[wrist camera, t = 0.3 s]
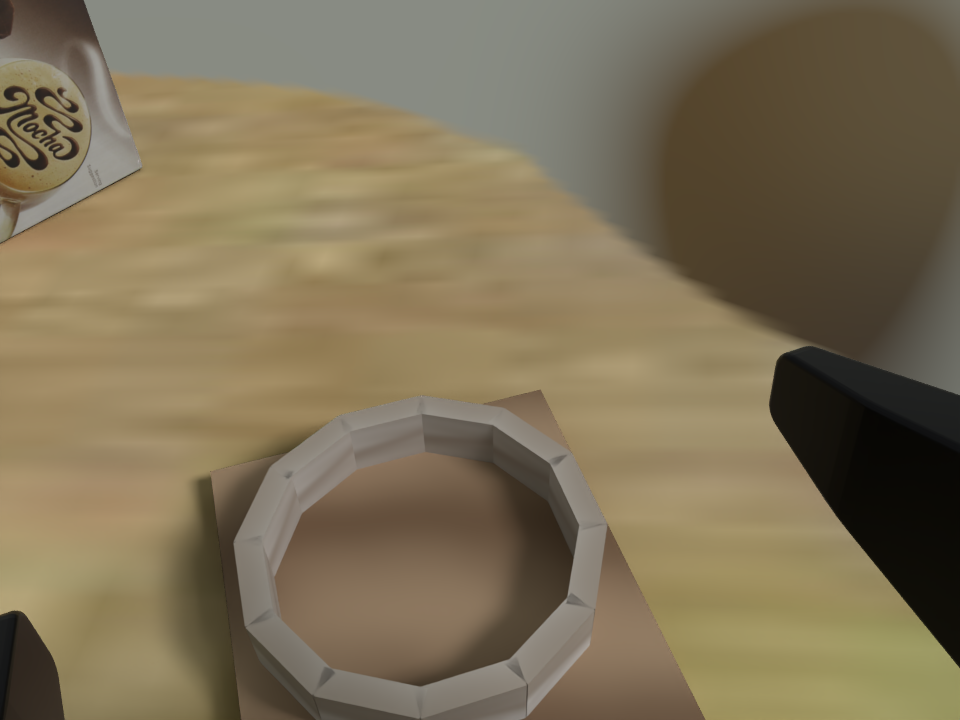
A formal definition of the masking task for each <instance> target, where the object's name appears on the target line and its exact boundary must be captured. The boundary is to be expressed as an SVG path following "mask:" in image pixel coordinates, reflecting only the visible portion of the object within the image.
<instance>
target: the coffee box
mask: <svg viewBox="0 0 960 720" xmlns="http://www.w3.org/2000/svg"><path fill="white" fill-rule="evenodd" d="M140 168H142V163H141V160H140V157H139V154H138V151H137V149H136V146H135V143H134V140H133V137H132V135H131V132H130V129H129V126H128V123H127V120H126V118H125V115H124V112H123V110H122V107H121V103H120V100H119V97H118V94H117V92H116V89H115V86H114V84H113V81H112V78H111V75H110V72H109V70H108V67H107V64H106V61H105V58H104V56H103V53H102V50H101V48H100V45H99V42H98V40H97V36H96V34H95V31H94V28H93V25H92V22H91V20H90V17H89V14H88V11H87V8H86V5H85V3H84V0H0V243H1V242H3V241H5V240H7V239H9V238H11V237H13V236H14V235H16V234H18V233H20V232H22V231H24V230H26V229H28V228H29V227H31V226H33V225H35V224H37V223H39V222H41V221H43V220H45V219H46V218H48V217H50V216H52V215H54V214H56V213H58V212H60V211H61V210H63V209H65V208H67V207H69V206H71V205H73V204H75V203H77V202H78V201H80V200H82V199H84V198H86V197H88V196H90V195H92V194H94V193H95V192H97V191H99V190H101V189H103V188H105V187H107V186H109V185H110V184H112V183H114V182H116V181H118V180H120V179H121V178H123V177H125V176H127V175H129V174H131V173H133V172H135V171H137V170H139V169H140Z"/></svg>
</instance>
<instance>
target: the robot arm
mask: <svg viewBox="0 0 960 720" xmlns="http://www.w3.org/2000/svg"><path fill="white" fill-rule="evenodd" d="M769 407H770V413H771V416H772V418H773V421H774V422H775V424H776V426H777V427H778V429H779V430H780V432H781V433H782V435H783V436H784V438H785V440H786V441H787V443H788V444H789V446H790V447H791V449H792V450H793V452H794V453H795V455H796V456H797V458H798V459H799V461H800V462H801V464H802V465H803V467H804V469H805V470H806V472H807V473H808V475H809V476H810V478H811V479H812V481H813V482H814V484H815V485H816V487H817V488H818V490H819V491H820V493H821V494H822V496H823V497H824V499H825V501H826V502H827V503H828V505H829V506H830V508H831V509H832V510H833V512H834V513H835V515H836V516H837V517H838V519H839V520H840V521H841V523H842V524H843V525H844V526H845V528H846V529H847V530H848V532H849V533H850V534H851V535H852V537H853V538H854V539H855V540H856V541H857V543H858V544H859V545H860V546H861V548H862V549H863V550H864V551H865V552H866V554H867V555H868V556H869V557H870V559H871V560H872V561H873V562H874V563H875V565H876V566H877V567H878V568H879V570H880V571H881V572H882V573H883V575H884V576H885V577H886V578H887V579H888V581H889V582H890V583H891V584H892V586H893V587H894V588H895V589H896V590H897V592H898V593H899V594H900V595H901V597H902V598H903V599H904V600H905V602H906V603H907V604H908V605H909V606H910V608H911V609H912V610H913V611H914V613H915V614H916V615H917V616H918V617H919V619H920V620H921V621H922V622H923V624H924V625H925V626H926V627H927V628H928V630H929V631H930V632H931V633H932V635H933V636H934V637H935V638H936V640H937V641H938V642H939V643H940V644H941V646H942V647H943V648H944V649H945V651H946V652H947V653H948V654H949V655H950V657H951V658H952V659H953V660H954V662H955V663H956V664H957V665H958V666H959V668H960V395H958V394H954V393H952V392H948V391H946V390H943V389H939V388H937V387H934V386H930V385H928V384H924V383H922V382H919V381H916V380H913V379H909V378H907V377H904V376H901V375H898V374H894V373H892V372H888V371H886V370H882V369H880V368H876V367H874V366H870V365H868V364H864V363H861V362H859V361H856V360H853V359H850V358H846V357H844V356H841V355H837V354H835V353H832V352H829V351H826V350H823V349H820V348H816V347H813V346H806V347H802V348H799V349H796V350H793V351H790V352H787V353H784V354H782V355H781V356H780V357H779V359H778V360H777V362H776V366H775V372H774V378H773V384H772V389H771V395H770V401H769ZM0 720H64V712H63V705H62V698H61V691H60V684H59V677H58V672H57V668H56V665H55V662H54V660H53V657H52V655H51V654H50V652H49V650H48V649H47V647H46V646H45V644H44V643H43V641H42V639H41V638H40V636H39V635H38V633H37V632H36V630H35V629H34V627H33V625H32V624H31V622H30V621H29V619H28V618H27V616H26V615H25V614H24V613H22V612H21V611H11V612H8V613H5V614H2V615H0Z"/></svg>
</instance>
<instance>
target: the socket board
mask: <svg viewBox="0 0 960 720" xmlns="http://www.w3.org/2000/svg"><path fill="white" fill-rule="evenodd" d="M210 472H211V480H212V488H213V496H214V504H215V512H216V520H217V528H218V536H219V545H220V553H221V561H222V569H223V577H224V585H225V593H226V601H227V609H228V617H229V625H230V634H231V642H232V650H233V658H234V666H235V674H236V682H237V690H238V698H239V706H240V714H241V720H705V718H704V716H703V714H702V712H701V710H700V708H699V706H698V704H697V702H696V700H695V698H694V696H693V694H692V692H691V690H690V688H689V686H688V684H687V682H686V680H685V678H684V676H683V674H682V672H681V670H680V668H679V666H678V664H677V662H676V660H675V658H674V656H673V654H672V652H671V650H670V648H669V646H668V644H667V642H666V640H665V638H664V636H663V634H662V632H661V630H660V628H659V626H658V624H657V622H656V620H655V618H654V616H653V614H652V612H651V610H650V608H649V606H648V604H647V602H646V600H645V598H644V596H643V594H642V592H641V590H640V588H639V586H638V584H637V582H636V580H635V578H634V576H633V574H632V572H631V570H630V568H629V566H628V564H627V562H626V560H625V558H624V556H623V554H622V552H621V550H620V548H619V546H618V544H617V542H616V540H615V538H614V536H613V534H612V532H611V530H610V528H609V526H608V524H607V522H606V520H605V518H604V516H603V514H602V512H601V510H600V508H599V506H598V504H597V502H596V500H595V498H594V496H593V494H592V492H591V490H590V488H589V486H588V484H587V482H586V480H585V478H584V476H583V474H582V472H581V470H580V468H579V466H578V464H577V462H576V460H575V458H574V456H573V454H572V452H571V450H570V448H569V446H568V444H567V442H566V440H565V438H564V436H563V434H562V432H561V430H560V428H559V426H558V424H557V422H556V420H555V418H554V416H553V414H552V412H551V410H550V408H549V406H548V404H547V402H546V400H545V398H544V396H543V394H542V392H541V390H537V391H533V392H529V393H525V394H521V395H517V396H513V397H509V398H505V399H501V400H497V401H493V402H489V403H485V404H475V403H469V402H462V401H456V400H449V399H442V398H436V397H429V396H423V395H422V397H421V396H417V397H413V398H409V399H404V400H400V401H396V402H392V403H388V404H384V405H380V406H376V407H371V408H367V409H363V410H359V411H355V412H351V413H347V414H343V415H339V416H337V417H336V418H335V419H333V420H332V421H331V422H329V423H328V424H326V425H325V426H324V427H322V428H321V429H320V430H318V431H317V432H316V433H314V434H313V435H312V436H310V437H309V438H308V439H306V440H305V441H304V442H302V443H301V444H300V445H298V446H297V447H296V448H294V449H293V450H292V451H290V452H287V453H283V454H279V455H275V456H271V457H267V458H263V459H259V460H255V461H251V462H247V463H243V464H238V465H234V466H230V467H226V468H222V469H218V470H214V471H210Z"/></svg>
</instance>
